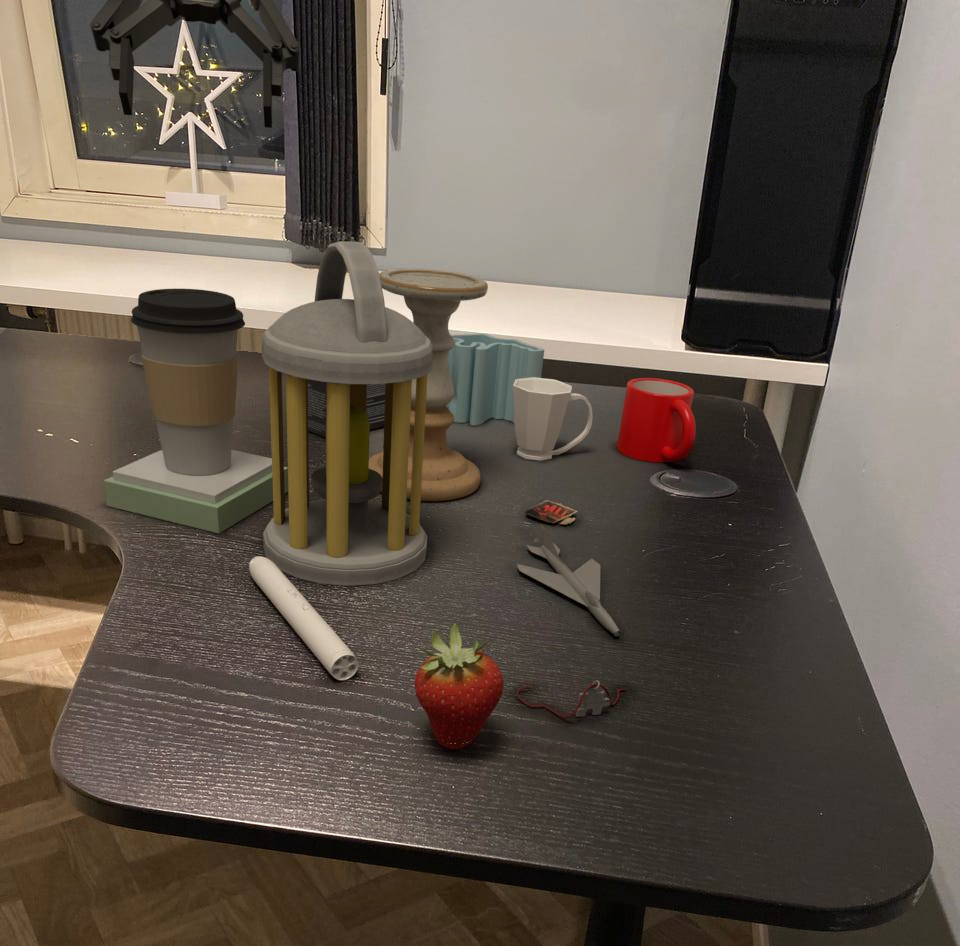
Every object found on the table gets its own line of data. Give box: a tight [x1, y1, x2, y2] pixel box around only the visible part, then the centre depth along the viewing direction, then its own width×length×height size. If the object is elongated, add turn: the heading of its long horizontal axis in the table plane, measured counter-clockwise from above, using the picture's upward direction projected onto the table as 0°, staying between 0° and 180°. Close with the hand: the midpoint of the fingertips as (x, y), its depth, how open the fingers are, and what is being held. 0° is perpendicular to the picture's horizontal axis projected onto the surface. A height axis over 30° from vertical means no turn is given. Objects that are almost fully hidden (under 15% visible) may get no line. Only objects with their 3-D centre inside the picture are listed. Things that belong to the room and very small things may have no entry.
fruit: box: [414, 622, 505, 750], centre depth 55 cm, size 5×5×8 cm
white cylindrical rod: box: [248, 555, 359, 681], centre depth 68 cm, size 18×2×2 cm, turn 32°
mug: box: [616, 377, 697, 463], centre depth 108 cm, size 8×12×8 cm, turn 24°
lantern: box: [261, 240, 433, 587], centre depth 74 cm, size 14×14×25 cm
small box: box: [308, 379, 386, 439], centre depth 107 cm, size 11×6×10 cm, turn 138°
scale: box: [103, 449, 288, 534], centre depth 86 cm, size 12×12×3 cm
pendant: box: [516, 680, 627, 719], centre depth 61 cm, size 8×4×3 cm, turn 107°
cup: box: [513, 377, 594, 462], centre depth 105 cm, size 7×10×8 cm
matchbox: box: [524, 499, 578, 525], centre depth 90 cm, size 5×5×1 cm
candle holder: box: [369, 268, 489, 502], centre depth 91 cm, size 12×12×20 cm
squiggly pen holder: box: [446, 333, 545, 427], centre depth 114 cm, size 18×10×9 cm, turn 116°
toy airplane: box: [516, 524, 621, 637], centre depth 78 cm, size 8×21×2 cm, turn 18°
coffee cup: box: [130, 288, 246, 476], centre depth 82 cm, size 9×9×15 cm
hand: (197, 111), depth 91 cm, fingers open, 13 cm apart
